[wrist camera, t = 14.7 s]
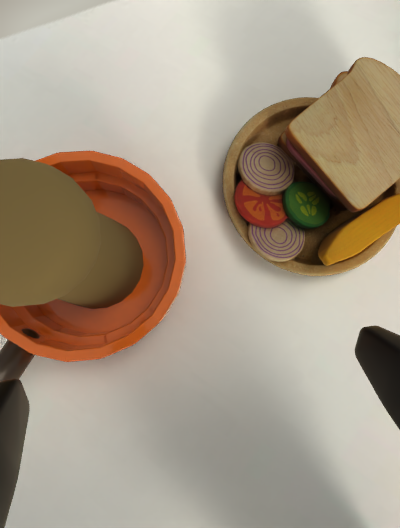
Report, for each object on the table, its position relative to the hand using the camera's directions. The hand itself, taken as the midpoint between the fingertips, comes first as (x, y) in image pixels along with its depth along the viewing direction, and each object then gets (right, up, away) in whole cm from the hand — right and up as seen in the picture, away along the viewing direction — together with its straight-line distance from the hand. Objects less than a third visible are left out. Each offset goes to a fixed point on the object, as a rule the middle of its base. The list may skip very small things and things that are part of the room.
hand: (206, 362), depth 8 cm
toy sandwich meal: (+8, +9, +14) cm, 18 cm away
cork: (-7, +3, +12) cm, 14 cm away
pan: (-7, +3, +13) cm, 15 cm away
